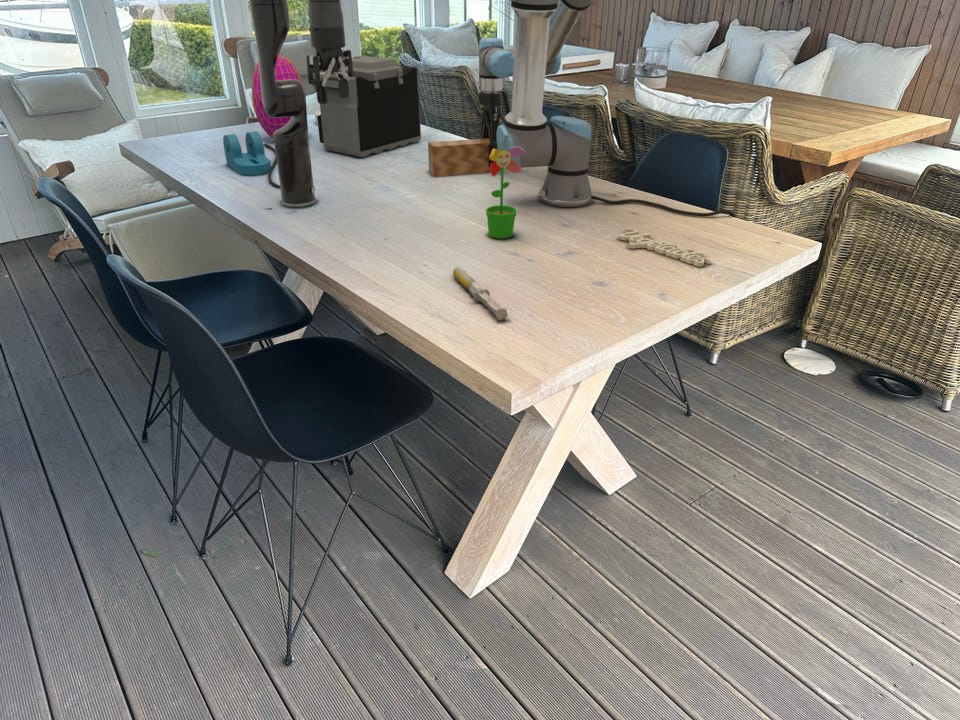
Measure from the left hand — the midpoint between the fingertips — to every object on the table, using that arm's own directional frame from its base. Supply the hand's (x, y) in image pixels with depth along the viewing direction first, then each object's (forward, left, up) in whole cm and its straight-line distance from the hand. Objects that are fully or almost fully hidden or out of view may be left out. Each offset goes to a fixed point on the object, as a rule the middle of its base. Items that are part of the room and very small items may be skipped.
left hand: (333, 100), depth 161 cm
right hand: (-22, +69, -30) cm, 79 cm away
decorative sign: (+59, +53, -32) cm, 86 cm away
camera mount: (-73, +8, -32) cm, 80 cm away
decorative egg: (-103, +36, -32) cm, 114 cm away
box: (-25, +61, -32) cm, 74 cm away
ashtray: (-118, +70, -32) cm, 141 cm away
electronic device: (-75, +56, -32) cm, 99 cm away
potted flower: (+27, +30, -32) cm, 52 cm away
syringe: (+51, +1, -32) cm, 61 cm away
